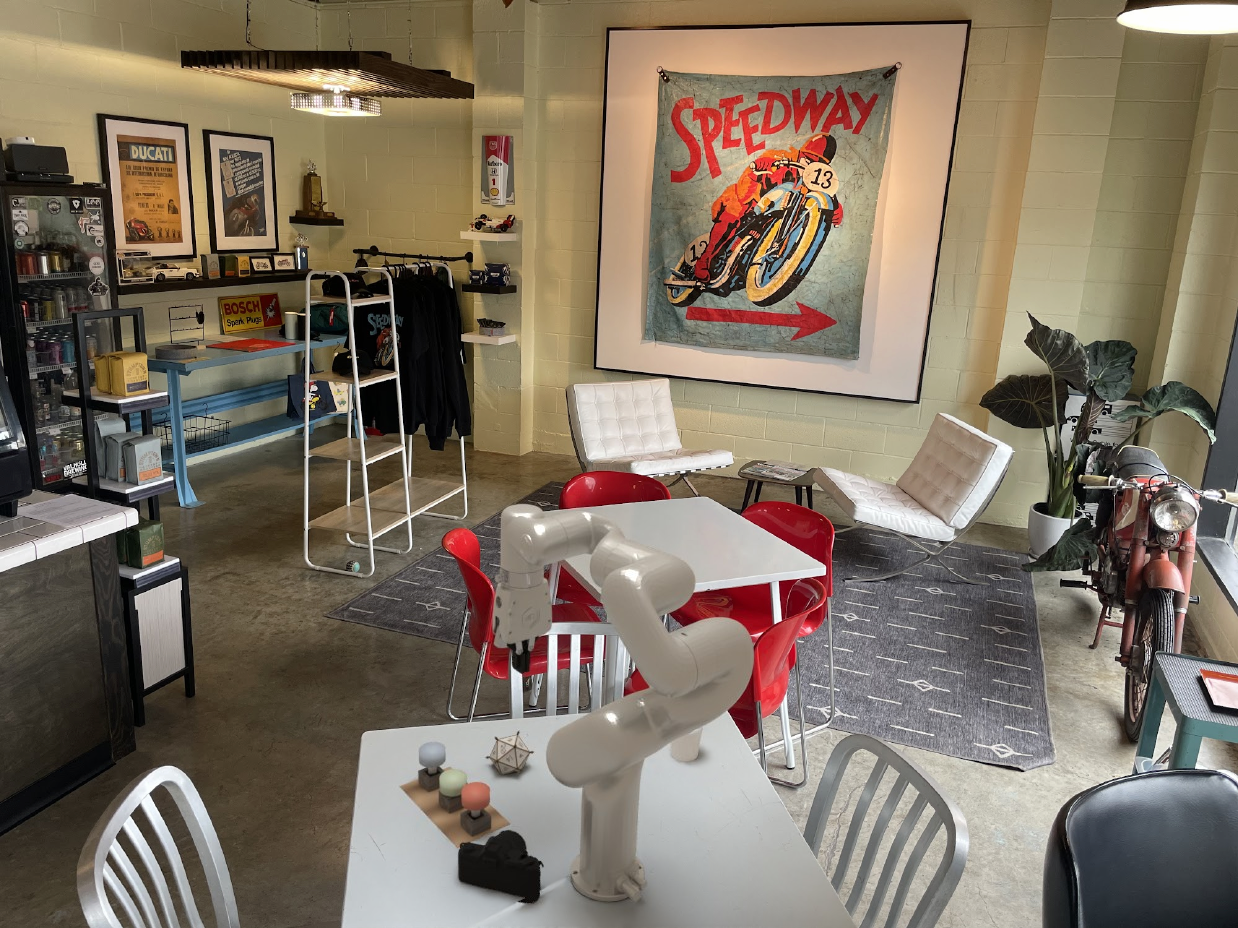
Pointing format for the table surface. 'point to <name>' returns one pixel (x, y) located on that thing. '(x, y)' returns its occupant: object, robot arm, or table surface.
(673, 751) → the white cylinder
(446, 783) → the sage button
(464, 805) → the brick button
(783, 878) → the table surface
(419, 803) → the wooden button base
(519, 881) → the film camera
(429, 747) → the slate button
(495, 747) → the game die
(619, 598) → the robot arm
